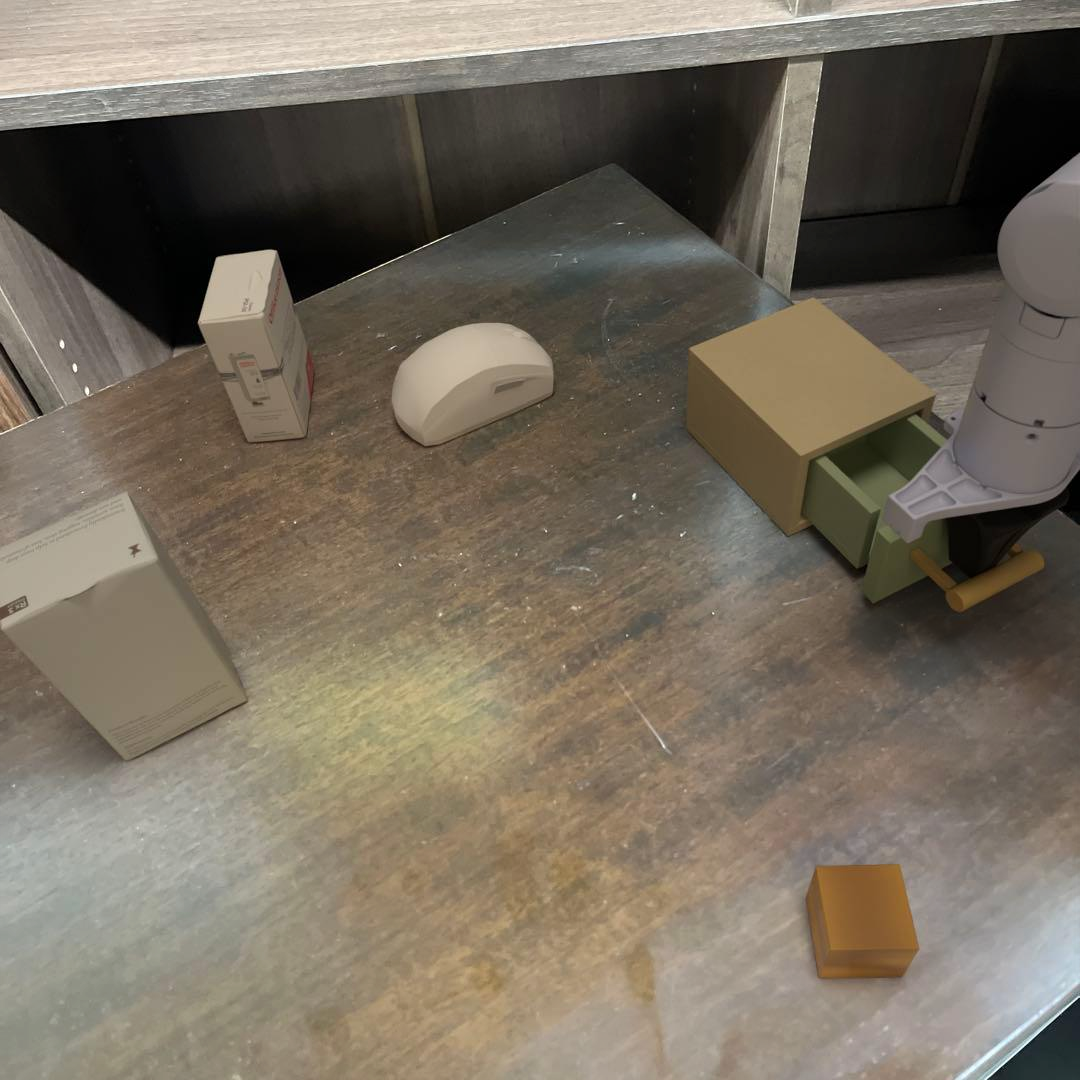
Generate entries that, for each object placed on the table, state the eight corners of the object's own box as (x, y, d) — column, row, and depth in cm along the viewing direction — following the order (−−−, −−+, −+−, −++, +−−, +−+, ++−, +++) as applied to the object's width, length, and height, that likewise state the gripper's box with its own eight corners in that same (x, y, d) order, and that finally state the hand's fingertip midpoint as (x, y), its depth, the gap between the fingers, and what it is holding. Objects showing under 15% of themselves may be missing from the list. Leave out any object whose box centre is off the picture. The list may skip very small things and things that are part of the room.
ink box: (260, 374, 83) (213, 251, 74) (318, 368, 83) (278, 244, 74) (245, 445, 77) (193, 321, 68) (308, 439, 77) (263, 314, 68)
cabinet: (912, 477, 69) (936, 394, 63) (787, 537, 66) (800, 456, 61) (801, 378, 77) (813, 296, 71) (685, 428, 74) (688, 347, 68)
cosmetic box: (223, 639, 65) (134, 481, 54) (252, 706, 61) (163, 552, 50) (97, 698, 63) (-23, 546, 51) (119, 772, 59) (-5, 625, 48)
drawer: (1047, 593, 61) (1077, 531, 56) (925, 658, 58) (948, 598, 54) (872, 439, 71) (887, 376, 66) (762, 489, 68) (770, 427, 64)
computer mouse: (565, 393, 78) (560, 328, 73) (416, 456, 75) (400, 393, 70) (527, 350, 82) (520, 286, 77) (383, 409, 79) (366, 345, 74)
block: (885, 895, 50) (899, 863, 47) (902, 977, 48) (919, 949, 45) (805, 896, 51) (815, 865, 48) (818, 978, 48) (829, 950, 45)
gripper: (1082, 299, 53) (1012, 477, 63) (863, 397, 49) (826, 569, 59) (1196, 370, 48) (1101, 549, 59) (965, 483, 45) (906, 653, 55)
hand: (968, 564), depth 59 cm, fingers closed
